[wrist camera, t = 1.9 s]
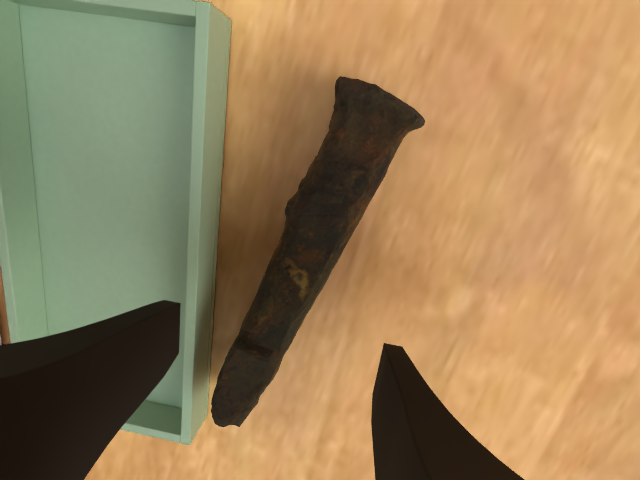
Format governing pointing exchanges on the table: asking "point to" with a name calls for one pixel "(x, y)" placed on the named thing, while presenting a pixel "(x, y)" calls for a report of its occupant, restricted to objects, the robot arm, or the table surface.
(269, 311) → the hand tool
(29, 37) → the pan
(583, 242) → the table surface
